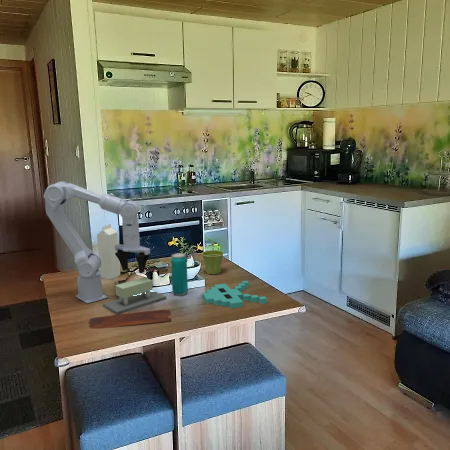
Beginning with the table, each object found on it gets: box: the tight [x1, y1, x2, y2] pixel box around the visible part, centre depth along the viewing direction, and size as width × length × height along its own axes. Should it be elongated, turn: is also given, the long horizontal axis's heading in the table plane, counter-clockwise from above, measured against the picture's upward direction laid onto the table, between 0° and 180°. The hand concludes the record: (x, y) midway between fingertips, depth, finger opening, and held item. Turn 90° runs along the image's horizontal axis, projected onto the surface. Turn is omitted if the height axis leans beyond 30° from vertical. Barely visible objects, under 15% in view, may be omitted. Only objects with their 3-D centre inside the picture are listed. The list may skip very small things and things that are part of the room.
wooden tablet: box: [88, 309, 172, 330], centre depth 148 cm, size 27×10×2 cm, turn 101°
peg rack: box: [102, 291, 167, 315], centre depth 161 cm, size 10×20×4 cm, turn 132°
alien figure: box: [201, 280, 268, 309], centre depth 165 cm, size 20×2×20 cm
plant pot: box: [201, 249, 225, 275], centre depth 193 cm, size 9×9×9 cm
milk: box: [96, 223, 121, 280], centre depth 189 cm, size 6×6×22 cm
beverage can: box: [170, 252, 189, 296], centre depth 168 cm, size 6×6×15 cm
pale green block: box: [114, 277, 154, 298], centre depth 160 cm, size 12×5×4 cm, turn 133°
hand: (133, 271), depth 165 cm, fingers open, 7 cm apart
